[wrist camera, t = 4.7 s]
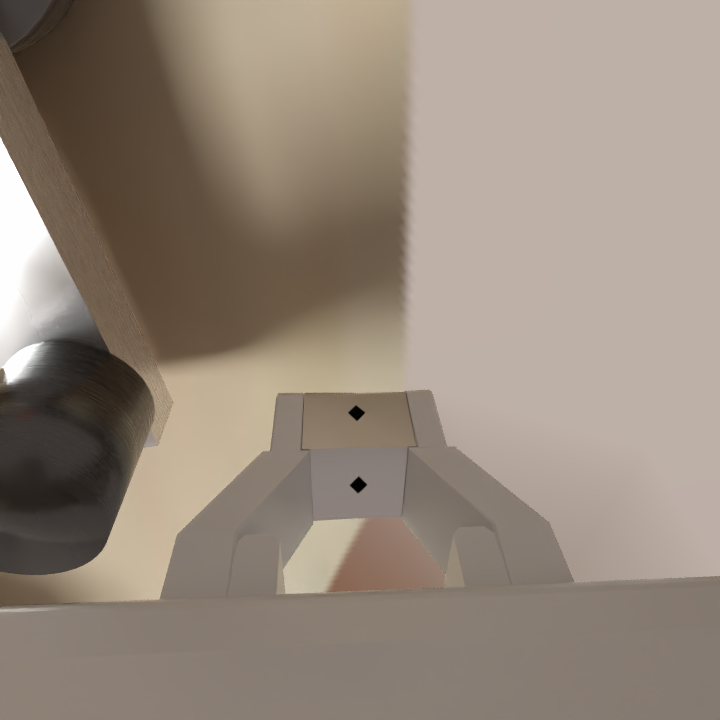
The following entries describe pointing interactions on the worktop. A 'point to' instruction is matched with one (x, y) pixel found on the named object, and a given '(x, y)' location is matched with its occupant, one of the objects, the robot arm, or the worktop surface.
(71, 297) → the crank
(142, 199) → the worktop surface
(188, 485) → the worktop surface
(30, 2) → the crank base
